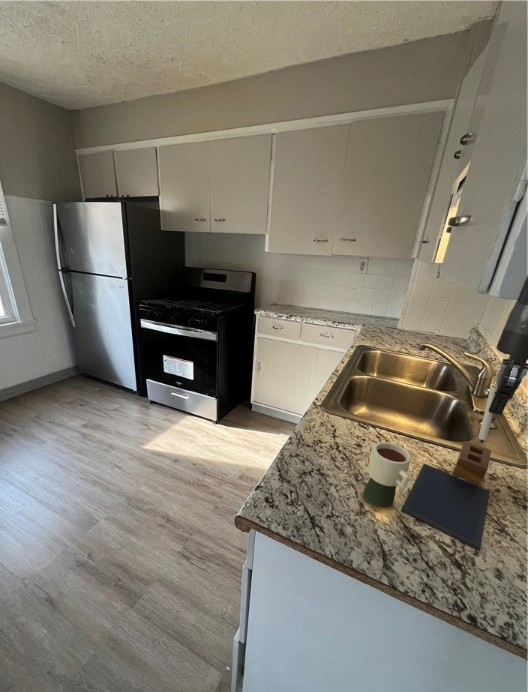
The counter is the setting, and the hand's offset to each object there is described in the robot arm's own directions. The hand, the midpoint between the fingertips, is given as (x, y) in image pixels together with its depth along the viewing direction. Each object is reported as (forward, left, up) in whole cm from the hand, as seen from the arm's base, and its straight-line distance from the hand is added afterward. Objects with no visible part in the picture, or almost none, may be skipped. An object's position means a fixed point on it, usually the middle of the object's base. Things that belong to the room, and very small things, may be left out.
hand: (495, 411), depth 65 cm
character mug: (+19, +9, -22) cm, 30 cm away
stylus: (0, 0, -8) cm, 8 cm away
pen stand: (-5, -9, -21) cm, 24 cm away
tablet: (+4, +5, -21) cm, 22 cm away
